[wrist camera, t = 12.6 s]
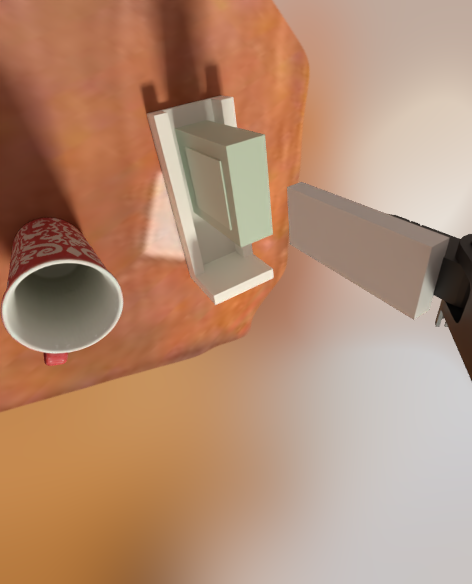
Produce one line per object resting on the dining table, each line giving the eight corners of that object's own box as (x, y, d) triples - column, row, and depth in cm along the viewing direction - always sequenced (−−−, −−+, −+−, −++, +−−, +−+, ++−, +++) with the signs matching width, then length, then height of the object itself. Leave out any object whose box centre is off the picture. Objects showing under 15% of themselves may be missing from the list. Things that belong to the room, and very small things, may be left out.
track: (146, 113, 36) (173, 122, 30) (220, 95, 39) (258, 99, 33) (190, 277, 49) (215, 305, 43) (243, 254, 52) (273, 277, 46)
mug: (5, 198, 33) (6, 252, 24) (100, 216, 39) (133, 266, 29) (-5, 309, 38) (-8, 392, 28) (82, 311, 43) (105, 382, 33)
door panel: (173, 128, 38) (224, 146, 29) (207, 119, 39) (266, 134, 30) (192, 212, 44) (239, 248, 35) (221, 201, 45) (274, 233, 36)
